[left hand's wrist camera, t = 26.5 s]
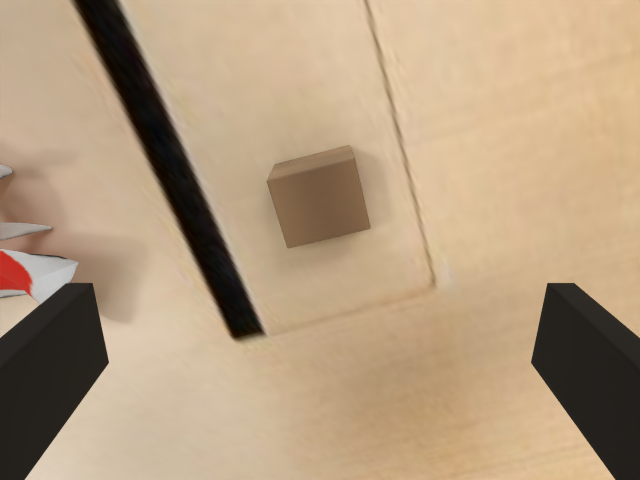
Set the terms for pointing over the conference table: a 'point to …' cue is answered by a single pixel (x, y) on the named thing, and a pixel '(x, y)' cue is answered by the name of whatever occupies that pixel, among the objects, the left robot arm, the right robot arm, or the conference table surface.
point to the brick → (318, 197)
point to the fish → (30, 264)
